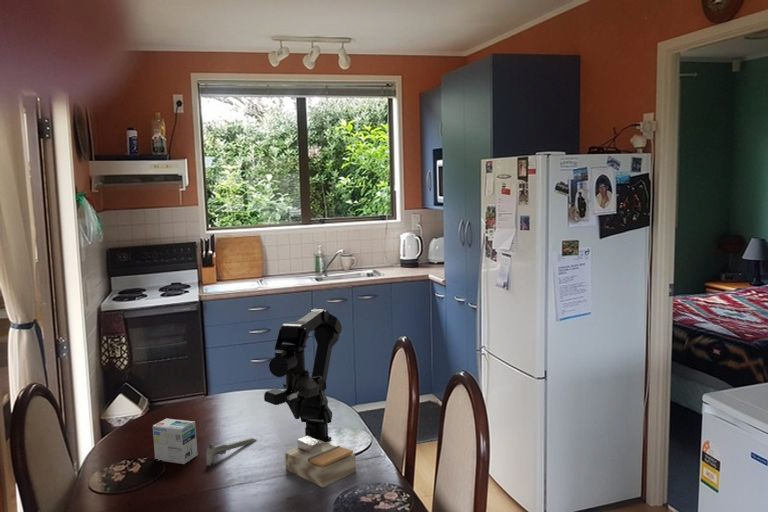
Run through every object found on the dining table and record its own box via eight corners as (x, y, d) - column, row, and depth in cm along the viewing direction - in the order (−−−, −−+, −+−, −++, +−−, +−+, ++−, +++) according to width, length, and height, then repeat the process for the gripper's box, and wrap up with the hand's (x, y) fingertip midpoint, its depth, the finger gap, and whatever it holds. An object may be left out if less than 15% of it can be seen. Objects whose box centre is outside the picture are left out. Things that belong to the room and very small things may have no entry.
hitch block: (285, 469, 177) (285, 452, 177) (318, 455, 186) (318, 439, 185) (322, 487, 166) (322, 469, 165) (355, 471, 174) (355, 454, 174)
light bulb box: (198, 455, 188) (196, 420, 187) (184, 465, 182) (182, 429, 180) (168, 451, 192) (166, 417, 190) (153, 460, 185) (151, 425, 184)
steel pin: (308, 458, 182) (307, 435, 182) (322, 465, 178) (321, 441, 177) (298, 462, 180) (297, 439, 179) (312, 469, 175) (311, 445, 175)
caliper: (209, 467, 180) (208, 446, 179) (206, 466, 181) (205, 445, 180) (256, 441, 198) (255, 422, 197) (254, 440, 198) (253, 421, 198)
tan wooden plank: (307, 461, 170) (307, 458, 170) (338, 448, 178) (337, 445, 178) (322, 466, 166) (322, 462, 166) (352, 453, 174) (352, 449, 174)
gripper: (285, 380, 169) (288, 435, 170) (337, 364, 182) (339, 416, 184) (261, 372, 176) (264, 425, 178) (313, 357, 190) (315, 407, 191)
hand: (297, 418), depth 183 cm, fingers closed
